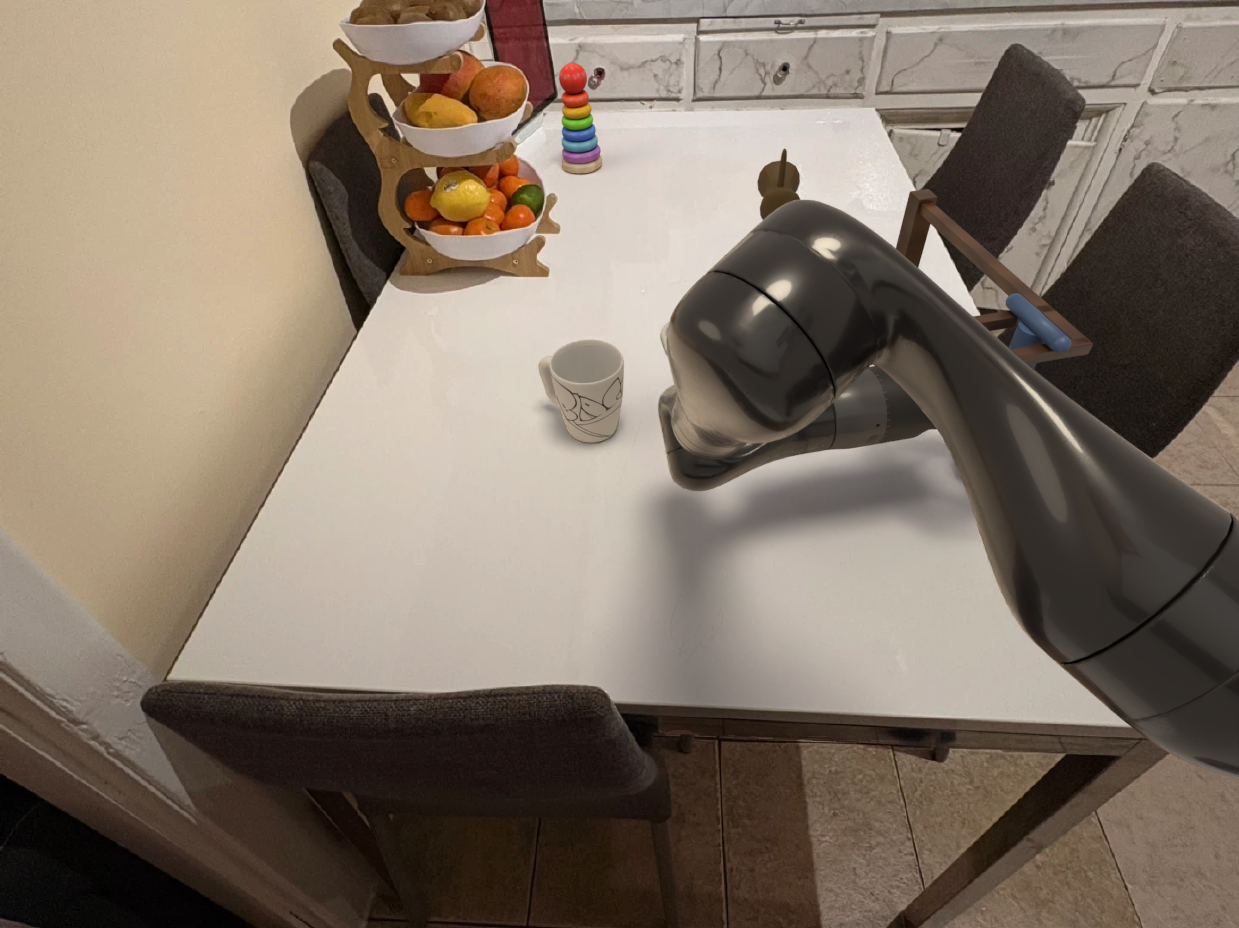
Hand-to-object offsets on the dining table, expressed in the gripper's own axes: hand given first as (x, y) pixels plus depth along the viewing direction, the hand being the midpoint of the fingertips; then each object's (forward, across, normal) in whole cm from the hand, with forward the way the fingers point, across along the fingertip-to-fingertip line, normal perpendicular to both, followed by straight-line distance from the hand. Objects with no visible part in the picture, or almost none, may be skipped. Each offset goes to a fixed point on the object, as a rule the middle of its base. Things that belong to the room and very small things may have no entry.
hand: (1019, 381), depth 72 cm
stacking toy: (-30, +94, +13) cm, 100 cm away
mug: (-42, +19, +13) cm, 48 cm away
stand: (-1, +15, +13) cm, 20 cm away
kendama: (-9, +44, +13) cm, 47 cm away
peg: (-1, 0, +9) cm, 9 cm away
